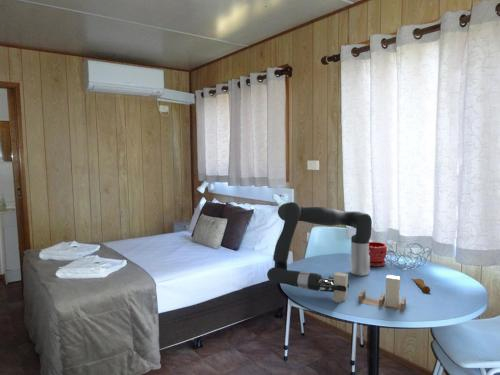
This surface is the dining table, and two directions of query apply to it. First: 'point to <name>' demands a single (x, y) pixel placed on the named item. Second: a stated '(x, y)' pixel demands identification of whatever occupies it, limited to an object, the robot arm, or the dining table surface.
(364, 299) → the rack
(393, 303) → the tall square post
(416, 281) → the primitive tool
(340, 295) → the beige rectangular block
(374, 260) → the plant pot
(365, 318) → the dining table surface
